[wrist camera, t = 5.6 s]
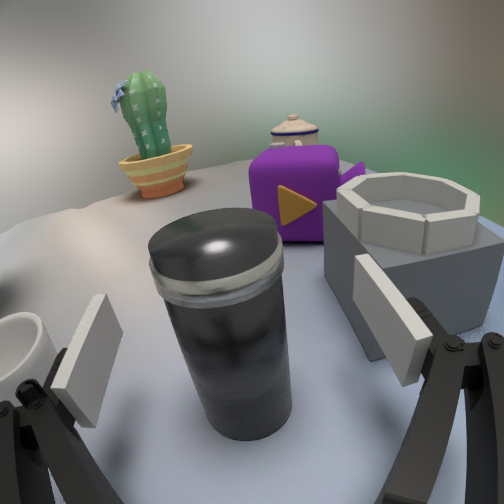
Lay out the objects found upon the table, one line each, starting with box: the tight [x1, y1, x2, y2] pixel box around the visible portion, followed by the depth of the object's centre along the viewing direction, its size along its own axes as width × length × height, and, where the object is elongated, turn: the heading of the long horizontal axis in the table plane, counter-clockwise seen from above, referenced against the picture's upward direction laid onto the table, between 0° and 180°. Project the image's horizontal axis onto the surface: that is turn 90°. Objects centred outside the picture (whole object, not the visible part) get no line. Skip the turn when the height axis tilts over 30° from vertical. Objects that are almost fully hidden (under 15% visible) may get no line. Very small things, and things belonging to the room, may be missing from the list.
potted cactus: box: [111, 70, 192, 198], centre depth 57 cm, size 15×15×25 cm
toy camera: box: [249, 142, 366, 241], centre depth 36 cm, size 11×14×10 cm
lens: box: [148, 208, 292, 441], centre depth 15 cm, size 5×5×11 cm
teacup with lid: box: [271, 115, 318, 146], centre depth 58 cm, size 12×9×12 cm
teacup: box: [0, 312, 57, 407], centre depth 16 cm, size 10×8×5 cm
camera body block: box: [322, 172, 504, 361], centre depth 22 cm, size 10×11×9 cm
